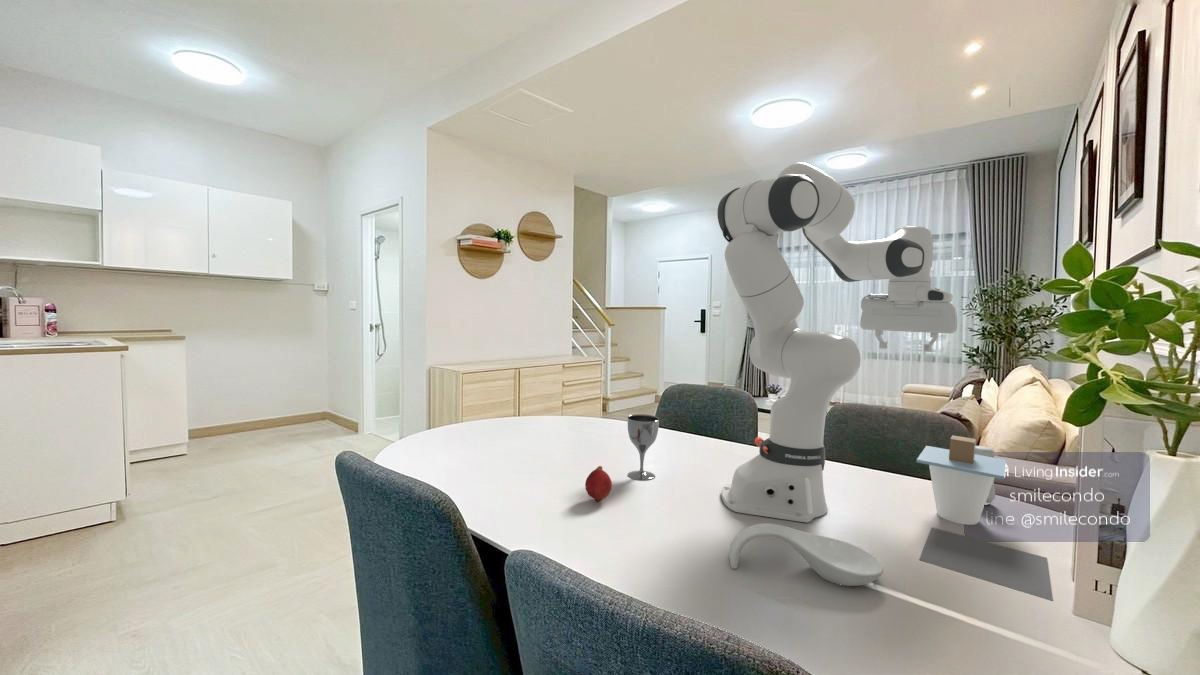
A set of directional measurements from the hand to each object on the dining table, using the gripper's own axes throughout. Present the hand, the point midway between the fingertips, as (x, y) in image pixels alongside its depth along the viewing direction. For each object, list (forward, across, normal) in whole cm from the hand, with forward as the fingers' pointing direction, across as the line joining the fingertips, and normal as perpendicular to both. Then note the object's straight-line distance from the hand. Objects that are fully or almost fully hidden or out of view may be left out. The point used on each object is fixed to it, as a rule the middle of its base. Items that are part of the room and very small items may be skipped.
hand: (904, 350), depth 120 cm
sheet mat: (+34, +19, -33) cm, 51 cm away
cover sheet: (+22, +14, -15) cm, 30 cm away
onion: (+34, -47, -61) cm, 84 cm away
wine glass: (+34, -50, -41) cm, 73 cm away
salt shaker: (+34, +17, 0) cm, 38 cm away
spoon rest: (+35, -4, -58) cm, 68 cm away
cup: (+34, +14, -15) cm, 40 cm away
